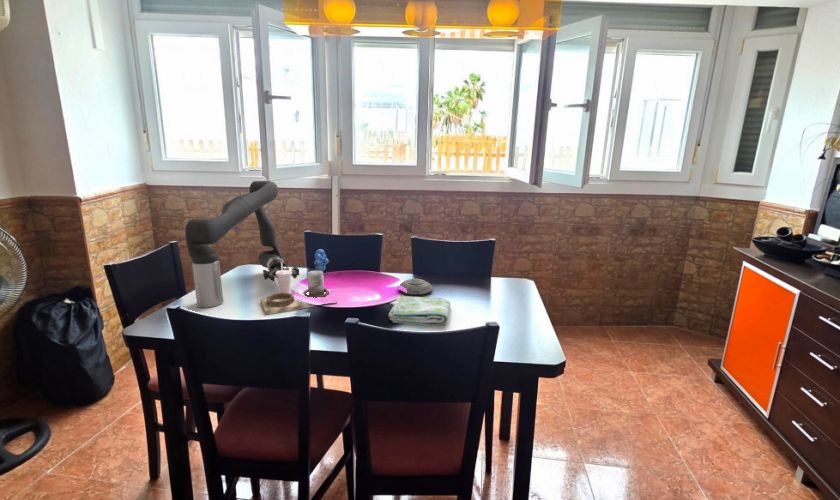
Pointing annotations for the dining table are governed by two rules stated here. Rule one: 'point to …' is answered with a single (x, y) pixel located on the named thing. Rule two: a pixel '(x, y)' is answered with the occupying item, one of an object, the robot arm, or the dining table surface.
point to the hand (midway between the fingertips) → (284, 277)
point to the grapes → (320, 260)
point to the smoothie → (284, 280)
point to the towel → (420, 310)
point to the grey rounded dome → (417, 286)
